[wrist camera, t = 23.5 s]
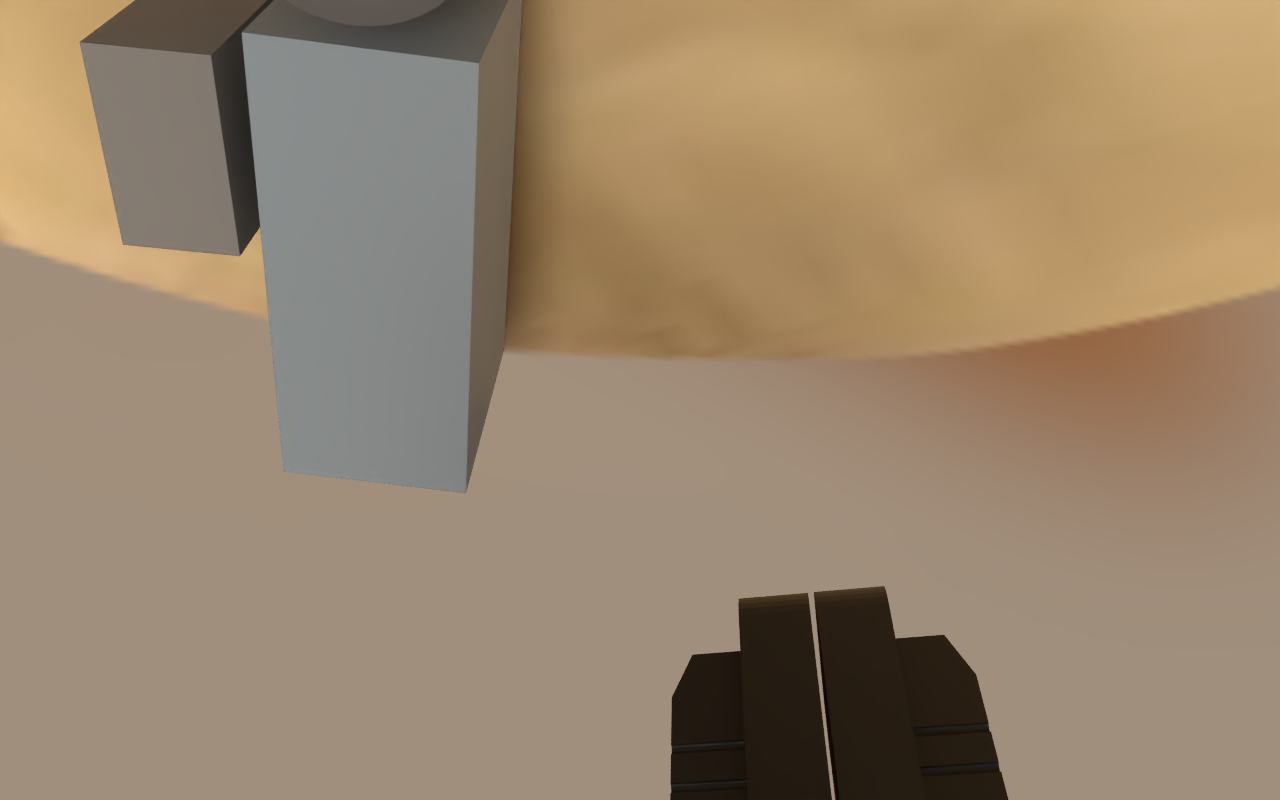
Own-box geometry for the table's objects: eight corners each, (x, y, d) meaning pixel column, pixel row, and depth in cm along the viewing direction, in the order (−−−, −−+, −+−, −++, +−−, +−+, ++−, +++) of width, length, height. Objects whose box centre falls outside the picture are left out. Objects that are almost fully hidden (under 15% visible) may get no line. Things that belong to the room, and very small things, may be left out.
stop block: (223, 127, 23) (123, 244, 19) (198, -49, 21) (79, 42, 17) (321, 137, 23) (240, 256, 19) (305, -37, 21) (210, 55, 17)
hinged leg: (304, -355, 18) (170, -330, 14) (554, -320, 18) (503, -284, 14) (339, 328, 26) (262, 487, 21) (515, 350, 26) (474, 512, 21)
